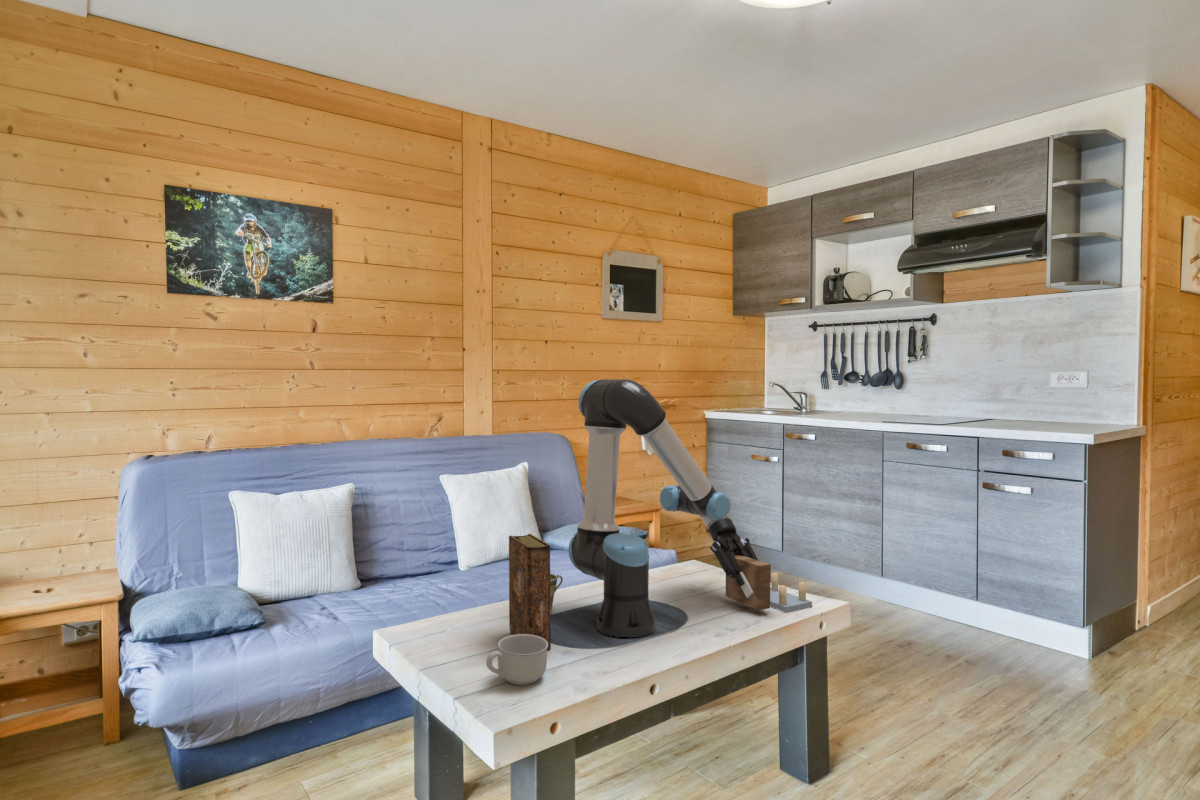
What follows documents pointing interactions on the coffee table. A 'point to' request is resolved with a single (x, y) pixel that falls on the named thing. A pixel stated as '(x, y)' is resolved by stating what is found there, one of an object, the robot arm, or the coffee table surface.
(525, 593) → the book
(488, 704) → the coffee table surface
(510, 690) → the coffee table surface
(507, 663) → the teacup
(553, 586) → the ceramic cup
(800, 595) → the cradle
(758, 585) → the board
